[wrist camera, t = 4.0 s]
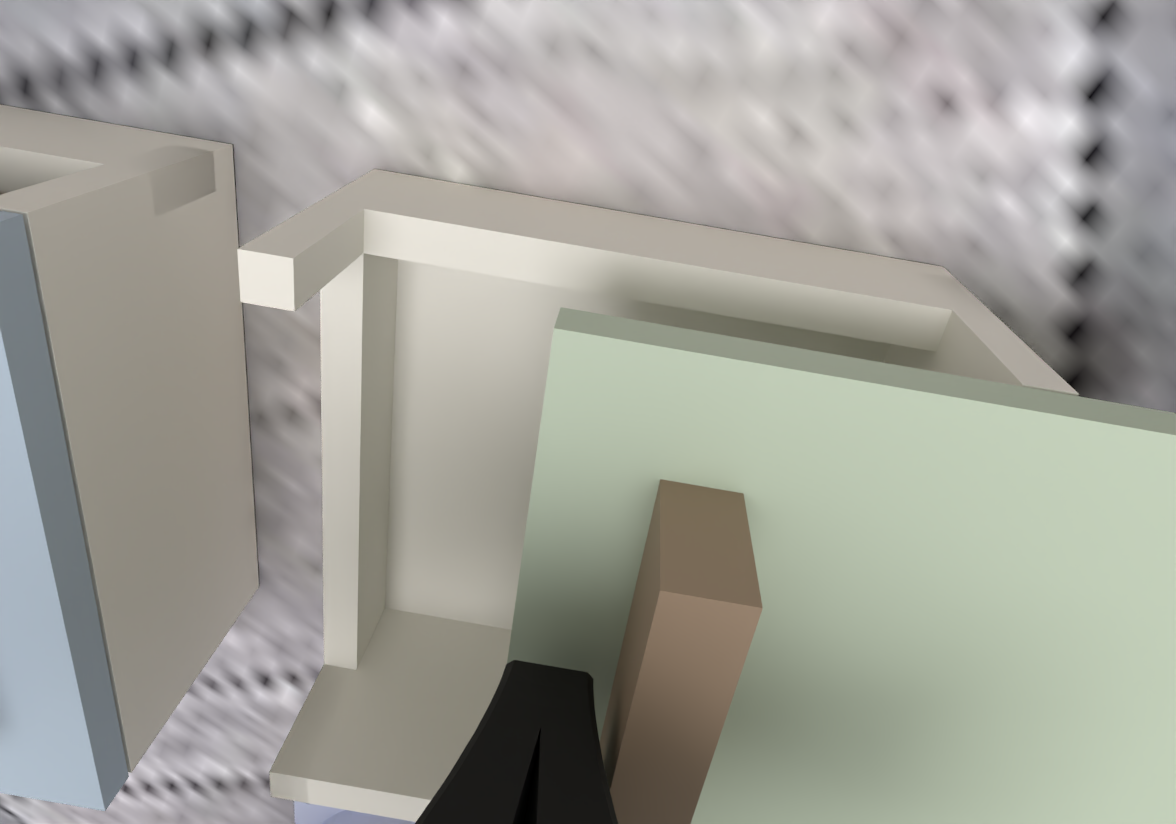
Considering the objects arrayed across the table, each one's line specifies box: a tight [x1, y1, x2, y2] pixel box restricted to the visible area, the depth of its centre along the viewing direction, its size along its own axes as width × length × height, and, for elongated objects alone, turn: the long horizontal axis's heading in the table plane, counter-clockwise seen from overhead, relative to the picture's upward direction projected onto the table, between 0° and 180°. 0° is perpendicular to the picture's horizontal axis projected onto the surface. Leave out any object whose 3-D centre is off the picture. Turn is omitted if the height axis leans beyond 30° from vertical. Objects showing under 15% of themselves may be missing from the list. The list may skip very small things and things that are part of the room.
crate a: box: [237, 169, 1079, 822], centre depth 17 cm, size 12×12×6 cm
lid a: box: [507, 307, 1176, 824], centre depth 12 cm, size 12×12×3 cm
